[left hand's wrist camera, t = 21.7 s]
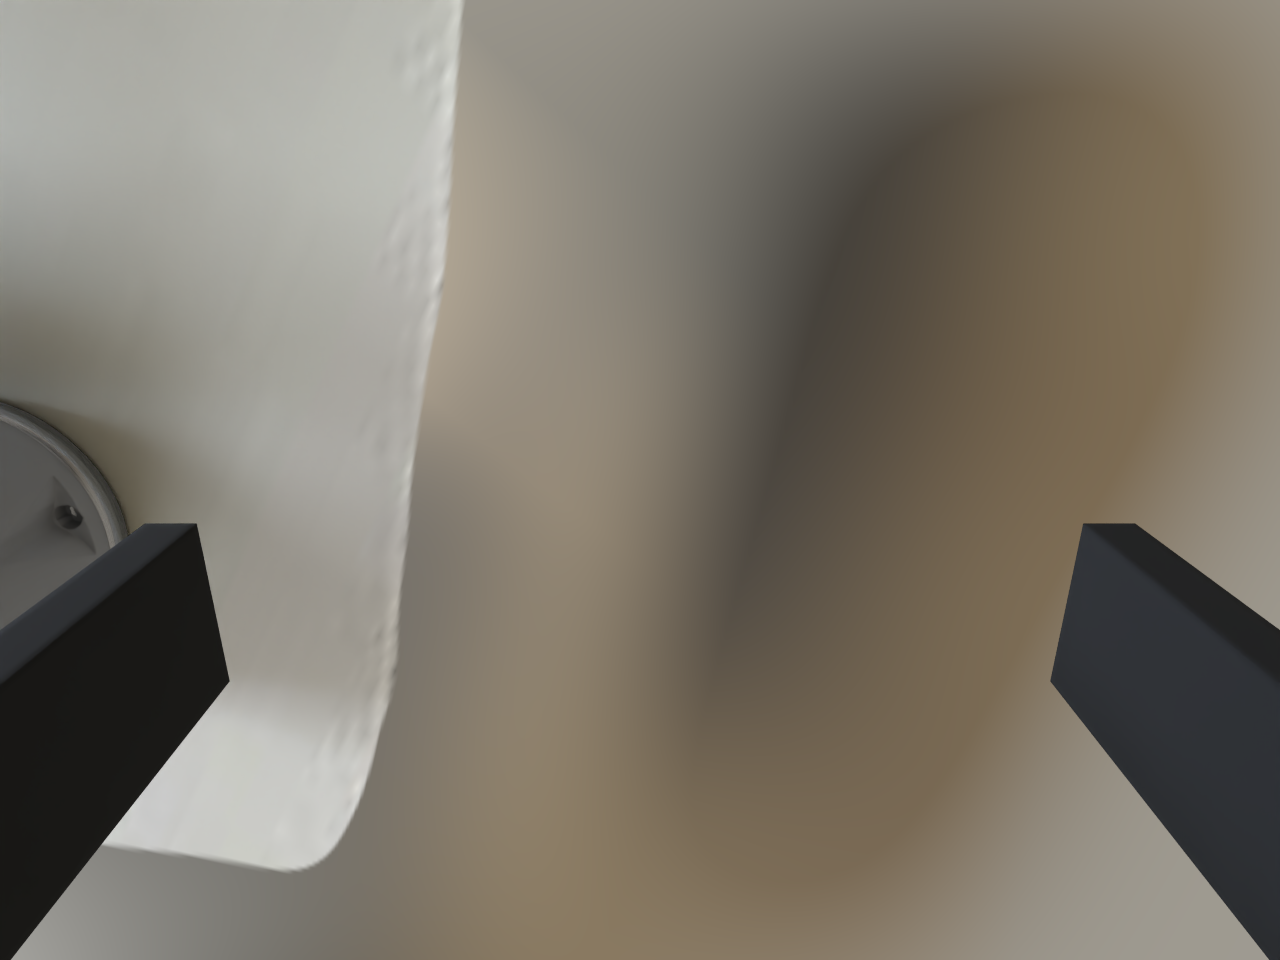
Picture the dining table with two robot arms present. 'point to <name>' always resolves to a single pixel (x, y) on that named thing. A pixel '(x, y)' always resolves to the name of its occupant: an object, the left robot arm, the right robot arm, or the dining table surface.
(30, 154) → the dining table surface
